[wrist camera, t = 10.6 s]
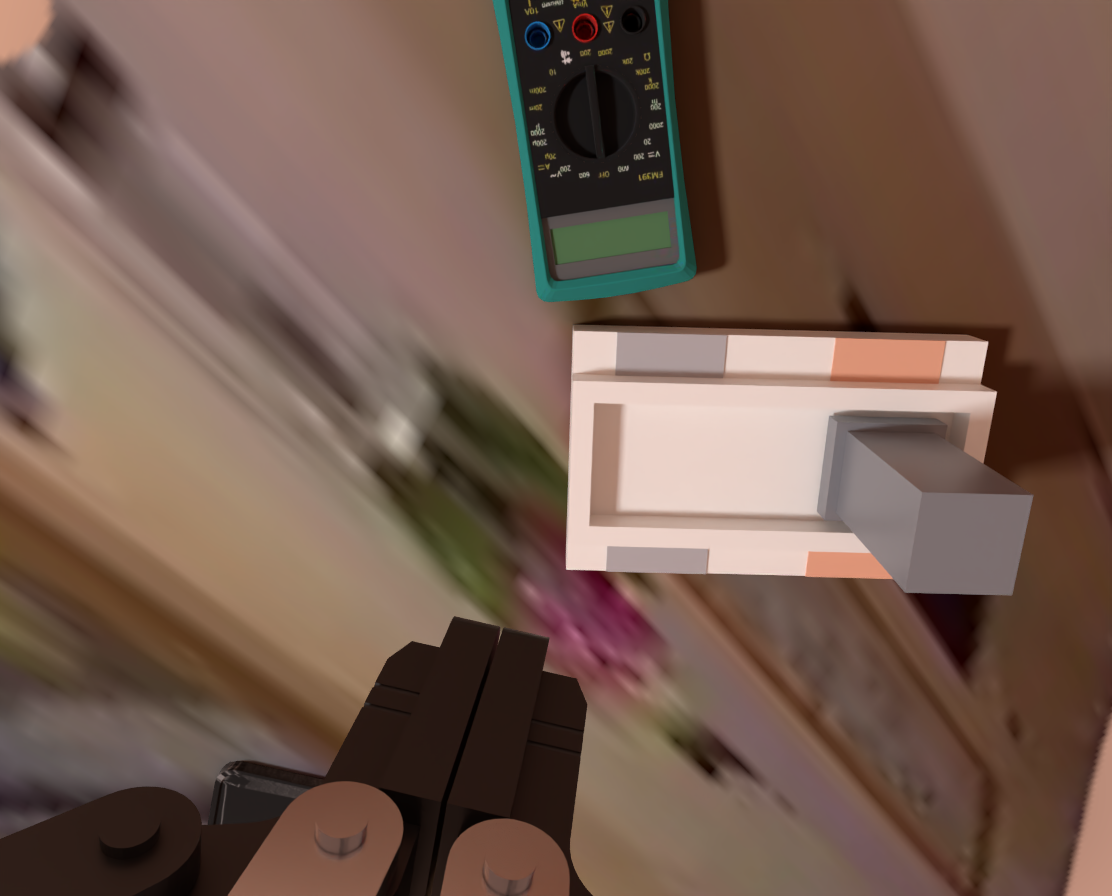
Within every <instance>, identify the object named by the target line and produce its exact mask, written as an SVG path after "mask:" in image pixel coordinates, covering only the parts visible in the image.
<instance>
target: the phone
mask: <svg viewBox="0 0 1112 896" xmlns="http://www.w3.org/2000/svg"><path fill="white" fill-rule="evenodd" d="M323 781H324V780H322V779H318V778H314V777H309V776H305V775H300V774H296V773H291V772H287V771H282V770H278V769H273V768H269V767H265V766H260V765H256V764H251V763H247V762H241V761H235V762H230V763H228V764H226V765H225V766H224V767H223V768H222V770H221V771H220V773H219V775H218V776H217V778H216V781H215V785H214V791H213V797H212V803H211V809H210V814H209V820H208V825H217V824H239V823H252V822H260V821H265V820H269V819H273V818H276V817H278V816H281V815H282V814H283V812H284V811H285V810H286V808H287V807H288V806H289V805H290V803H291V802H293V801H294V800H295V799H296V798H297V797H298V796H300V795H301V794H303V793H304V792H306V791H308V790H310V789H312V788H314V787H316V786H320V785H321V784H322V782H323Z"/></svg>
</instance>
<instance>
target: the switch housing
mask: <svg viewBox="0 0 1112 896" xmlns="http://www.w3.org/2000/svg"><path fill="white" fill-rule="evenodd" d="M987 346H988V341H985V340H982V339H979V338H976V337H973V336H970V335H960V334H921V333H883V332H844V331H805V330H767V329H728V328H690V327H651V326H612V325H574V324H573V343H572V375H571V407H570V440H569V472H568V504H567V537H566V570H604V571H609V572H647V573H686V574H706V573H720V574H758V575H796V576H806V577H840V578H878V579H893V578H892V577H891V576H890V574H889V573H888V572H887V571H886V570H885V569H884V567H883V566H882V565H881V564H880V563H879V562H878V561H877V559H876V558H875V557H874V556H873V555H872V554H871V553H870V551H869V550H868V549H867V548H866V547H865V546H864V544H863V543H862V542H861V541H860V540H859V539H858V538H857V536H856V535H855V534H854V533H853V532H852V531H851V530H850V528H849V527H848V526H847V525H846V524H845V523H844V521H824V519H823V518H822V517H821V516H820V515H819V513H818V512H817V505H818V497H819V490H820V482H821V474H822V466H823V459H824V451H825V443H826V435H827V428H828V420H829V416H867V417H906V418H936V419H938V420H940V421H941V422H943V423H945V424H947V425H948V426H947V432H946V438H945V440H947V441H948V442H950V443H951V444H953V445H954V446H956V447H958V448H959V449H961V450H962V451H964V452H966V453H967V454H969V455H970V456H972V457H974V458H975V459H977V460H978V461H980V462H981V463H984V458H985V452H986V447H987V442H988V437H989V432H990V426H991V421H992V416H993V411H994V405H995V400H996V395H997V392H996V391H994V390H992V389H990V388H987V387H985V386H983V385H981V379H982V374H983V368H984V363H985V357H986V352H987Z"/></svg>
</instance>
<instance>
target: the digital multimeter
mask: <svg viewBox="0 0 1112 896" xmlns="http://www.w3.org/2000/svg"><path fill="white" fill-rule="evenodd" d="M654 1H655V3H654ZM493 4H494V9H495V14H496V20H497V25H498V30H499V35H500V40H501V45H502V51H503V56H504V62H505V68H506V73H507V79H508V84H509V90H510V96H511V101H512V107H513V112H514V118H515V124H516V131H517V138H518V145H519V152H520V159H521V166H522V173H523V180H524V187H525V195H526V202H527V211H528V220H529V228H530V237H531V246H532V255H533V264H534V273H535V282H536V291H537V294H538V297H539V298H540V299H541V300H543V301H546V302H556V301H571V300H584V299H594V298H605V297H611V296H618V295H625V294H631V293H636V292H641V291H646V290H651V289H655V288H660V287H664V286H668V285H673V284H677V283H681V282H685V281H688V280H690V279H692V278H693V277H694V275H695V274H696V269H697V266H696V259H695V252H694V245H693V238H692V231H691V224H690V217H689V210H688V203H687V196H686V190H685V183H684V175H683V166H682V157H681V148H680V139H679V130H678V121H677V112H676V103H675V93H674V79H673V66H672V52H671V38H670V25H669V11H668V0H493ZM509 7H510V8H509ZM655 11H656V13H655ZM510 14H511V15H510ZM656 21H657V23H656ZM512 27H513V28H512ZM657 31H658V33H657ZM513 34H514V35H513ZM515 47H516V48H515ZM607 66H608V67H607ZM572 72H573V73H572ZM559 85H560V86H559ZM635 89H636V90H635ZM554 94H555V95H554ZM551 104H552V105H551ZM550 112H551V115H550ZM639 126H640V127H639ZM561 146H562V147H561ZM625 150H626V151H625ZM568 153H569V154H568ZM584 161H585V162H584ZM601 162H602V163H601ZM669 264H671V265H669ZM662 265H663V266H662Z"/></svg>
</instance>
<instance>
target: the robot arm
mask: <svg viewBox="0 0 1112 896" xmlns="http://www.w3.org/2000/svg"><path fill="white" fill-rule="evenodd" d="M499 635H500V627H499V626H495V625H490V624H486V623H482V622H477V621H473V620H468V619H464V618H460V617H455V616H454V617H453V619H452V621H451V623H450V626H449V628H448V630H447V632H446V635H445V637H444V639H443V642H442V644H441V646H440V648H439V647H435V646H431V645H426V644H422V643H418V642H413V641H412V642H410V643H409V644H408V645H406V646H405V647H403V648H402V649H401V650H399V651H398V652H396V653H395V654H394V655H392V656H391V657H389V658H388V659H387V661H386V663H385V665H384V667H383V669H382V671H381V673H380V674H379V676H378V678H377V680H376V682H375V686H374V687H373V688H372V690H371V691H370V693H369V695H368V697H367V699H366V701H365V704H364V707H362V709H361V710H360V712H359V714H358V716H357V718H356V720H355V722H354V724H353V726H352V727H351V729H350V731H349V733H348V735H347V737H346V739H345V741H344V743H343V745H342V746H341V748H340V750H339V752H338V754H337V756H336V758H335V760H334V762H333V763H332V765H331V767H330V769H329V771H328V773H327V775H326V777H325V779H324V781H323V782H322V784H321V785H320V786H316V787H314V788H312V789H310V790H308V791H306V792H304V793H303V794H301V795H300V796H298V797H297V798H296V799H295V800H294V801H293V802H291V803H290V805H289V806H288V807H287V808H286V810H285V811H284V812H283V814H282V815H281V816H278V817H276V818H273V819H269V820H265V821H260V822H252V823H239V824H217V825H202V822H201V817H200V814H199V812H198V810H197V808H196V806H195V805H194V804H193V803H192V801H191V800H189V799H188V798H187V797H185V796H184V795H182V794H180V793H178V792H176V791H173V790H170V789H166V788H160V787H136V788H129V789H125V790H121V791H117V792H114V793H112V794H109V795H106V796H104V797H101V798H99V799H96V800H94V801H91V802H89V803H87V804H84V805H82V806H79V807H77V808H74V809H72V810H70V811H67V812H65V813H62V814H60V815H57V816H55V817H53V818H50V819H48V820H45V821H43V822H40V823H38V824H36V825H33V826H31V827H28V828H26V829H23V830H21V831H19V832H16V833H14V834H11V835H9V836H6V837H4V838H2V839H0V896H593V895H592V894H591V893H590V892H589V891H588V890H587V889H586V888H585V886H584V885H583V883H582V882H581V880H580V879H579V877H578V875H577V873H576V871H575V869H574V866H573V863H572V860H571V854H570V837H571V829H572V821H573V813H574V805H575V797H576V789H577V782H578V774H579V766H580V756H581V750H582V742H583V733H584V727H585V719H586V711H587V702H586V700H585V698H584V695H583V693H582V691H581V688H580V686H579V683H578V681H577V679H576V678H571V677H567V676H563V675H558V674H554V673H550V672H545V671H543V666H544V661H545V657H546V652H547V647H548V643H549V637H544V636H540V635H535V634H531V633H527V632H522V631H518V630H513V629H509V628H505V627H504V628H503V631H502V634H501V637H500V640H499ZM498 641H499V643H498Z"/></svg>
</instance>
